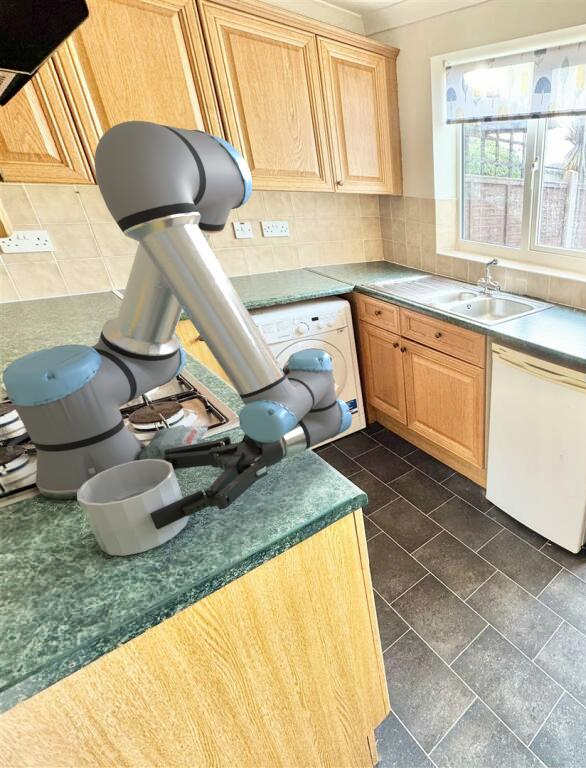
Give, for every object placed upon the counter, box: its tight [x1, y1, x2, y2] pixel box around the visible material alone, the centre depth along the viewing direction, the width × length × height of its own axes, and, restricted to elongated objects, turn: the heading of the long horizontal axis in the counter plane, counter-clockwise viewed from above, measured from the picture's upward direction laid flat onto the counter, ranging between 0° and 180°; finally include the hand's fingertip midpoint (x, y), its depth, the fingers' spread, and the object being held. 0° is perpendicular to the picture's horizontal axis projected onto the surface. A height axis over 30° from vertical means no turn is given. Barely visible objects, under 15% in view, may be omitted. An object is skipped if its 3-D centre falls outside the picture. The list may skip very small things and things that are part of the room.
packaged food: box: [139, 424, 209, 460], centre depth 83 cm, size 9×12×5 cm
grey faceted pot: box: [76, 459, 191, 557], centre depth 64 cm, size 11×11×10 cm
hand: (135, 502), depth 64 cm, fingers open, 13 cm apart
